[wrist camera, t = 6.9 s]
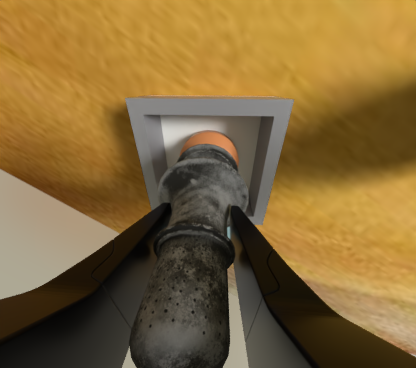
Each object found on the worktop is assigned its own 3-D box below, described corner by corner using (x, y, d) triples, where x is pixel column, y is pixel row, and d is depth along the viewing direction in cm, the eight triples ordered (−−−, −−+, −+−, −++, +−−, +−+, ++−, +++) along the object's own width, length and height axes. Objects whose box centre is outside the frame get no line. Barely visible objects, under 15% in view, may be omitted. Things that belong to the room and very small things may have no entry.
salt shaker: (228, 209, 15) (245, 467, 5) (167, 193, 15) (42, 443, 4) (253, 151, 12) (448, 524, 2) (177, 129, 12) (-159, 465, 1)
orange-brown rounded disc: (240, 130, 14) (242, 134, 13) (234, 183, 17) (235, 189, 16) (179, 129, 15) (176, 132, 14) (183, 181, 18) (181, 187, 17)
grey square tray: (273, 96, 14) (294, 99, 10) (254, 198, 20) (262, 224, 16) (150, 95, 14) (125, 98, 11) (166, 194, 20) (153, 219, 16)
